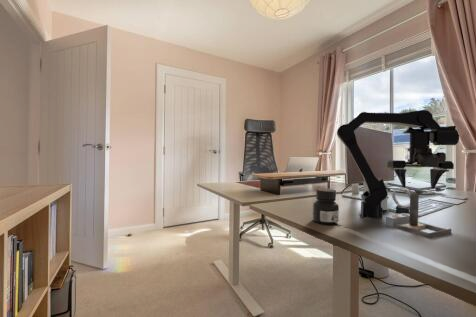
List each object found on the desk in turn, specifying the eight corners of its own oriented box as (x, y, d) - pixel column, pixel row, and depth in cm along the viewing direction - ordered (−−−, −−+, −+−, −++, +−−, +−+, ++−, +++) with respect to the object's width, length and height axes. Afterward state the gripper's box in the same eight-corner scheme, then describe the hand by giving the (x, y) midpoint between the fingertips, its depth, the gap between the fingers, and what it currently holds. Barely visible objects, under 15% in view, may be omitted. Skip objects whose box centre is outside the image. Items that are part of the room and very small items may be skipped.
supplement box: (378, 211, 99) (378, 183, 99) (362, 208, 106) (362, 181, 105) (387, 210, 102) (388, 182, 102) (371, 206, 109) (372, 180, 109)
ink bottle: (324, 227, 78) (325, 192, 78) (307, 220, 87) (307, 188, 86) (344, 223, 82) (345, 190, 82) (326, 217, 91) (326, 187, 90)
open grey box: (385, 227, 78) (385, 220, 78) (406, 224, 82) (406, 217, 82) (429, 242, 66) (429, 233, 66) (451, 236, 70) (451, 228, 70)
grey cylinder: (401, 227, 75) (402, 193, 74) (415, 225, 77) (416, 192, 77) (410, 230, 72) (411, 195, 72) (425, 228, 75) (426, 193, 74)
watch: (414, 217, 91) (415, 189, 91) (390, 213, 97) (391, 187, 96) (416, 214, 95) (416, 188, 95) (393, 210, 101) (393, 186, 101)
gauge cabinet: (385, 227, 78) (385, 215, 78) (406, 224, 82) (406, 212, 82) (392, 230, 75) (393, 216, 75) (414, 226, 80) (414, 213, 79)
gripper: (400, 144, 77) (399, 190, 78) (466, 144, 73) (465, 192, 73) (387, 145, 88) (386, 185, 88) (443, 145, 84) (442, 187, 84)
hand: (418, 187), depth 83 cm, fingers open, 9 cm apart
